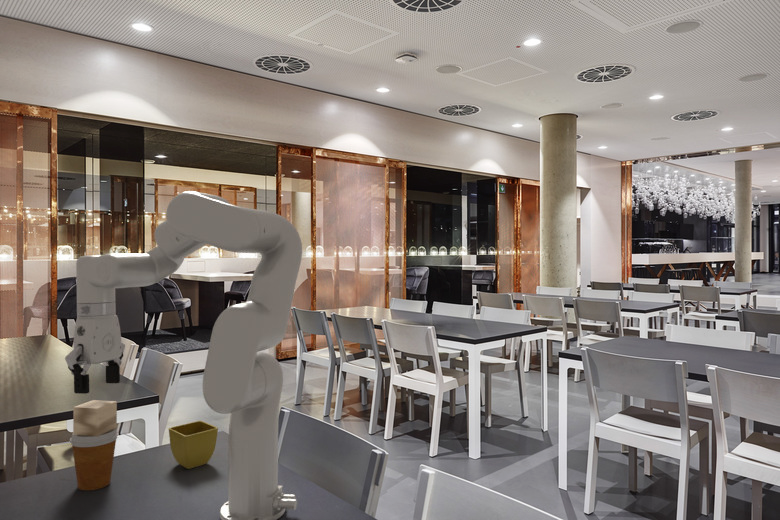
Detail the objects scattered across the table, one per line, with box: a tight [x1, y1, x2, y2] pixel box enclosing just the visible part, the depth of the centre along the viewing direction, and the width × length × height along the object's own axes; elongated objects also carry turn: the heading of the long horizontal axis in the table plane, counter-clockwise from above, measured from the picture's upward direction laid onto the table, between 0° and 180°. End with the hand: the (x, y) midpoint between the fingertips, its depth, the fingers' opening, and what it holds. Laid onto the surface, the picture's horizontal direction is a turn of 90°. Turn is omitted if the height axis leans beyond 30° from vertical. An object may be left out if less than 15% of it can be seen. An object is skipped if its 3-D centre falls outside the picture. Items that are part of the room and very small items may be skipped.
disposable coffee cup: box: [69, 428, 119, 491], centre depth 119 cm, size 10×10×12 cm
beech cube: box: [72, 399, 118, 436], centre depth 119 cm, size 6×6×6 cm
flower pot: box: [168, 420, 219, 470], centre depth 131 cm, size 9×9×9 cm
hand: (97, 387), depth 119 cm, fingers open, 9 cm apart
